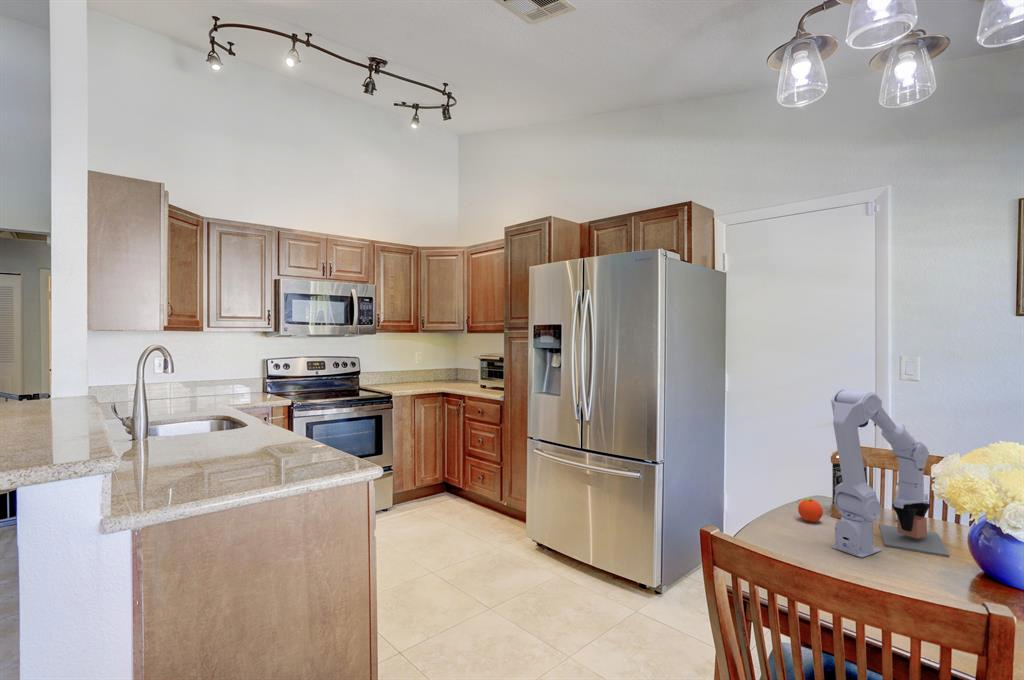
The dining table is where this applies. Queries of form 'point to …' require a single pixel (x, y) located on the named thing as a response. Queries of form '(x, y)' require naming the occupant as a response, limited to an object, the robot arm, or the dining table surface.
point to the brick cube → (915, 527)
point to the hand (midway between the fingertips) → (911, 528)
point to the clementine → (810, 510)
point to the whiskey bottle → (838, 478)
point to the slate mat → (913, 541)
